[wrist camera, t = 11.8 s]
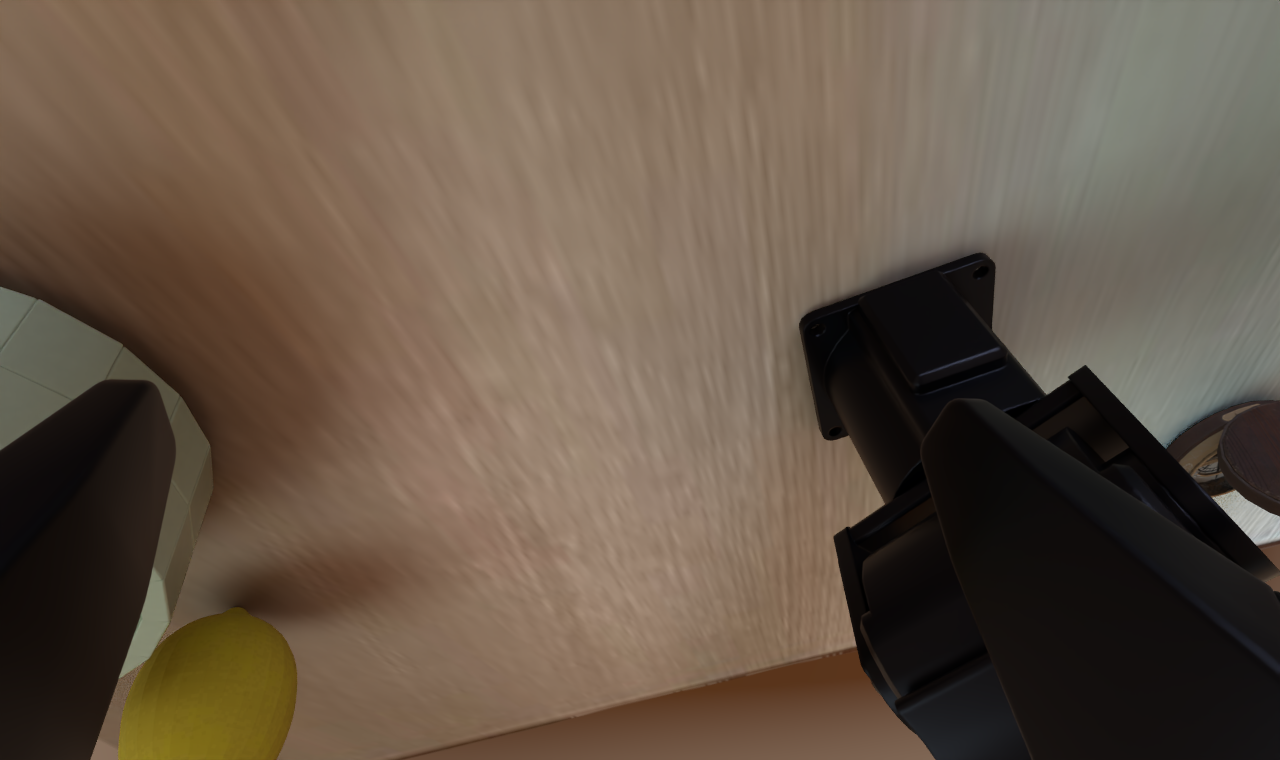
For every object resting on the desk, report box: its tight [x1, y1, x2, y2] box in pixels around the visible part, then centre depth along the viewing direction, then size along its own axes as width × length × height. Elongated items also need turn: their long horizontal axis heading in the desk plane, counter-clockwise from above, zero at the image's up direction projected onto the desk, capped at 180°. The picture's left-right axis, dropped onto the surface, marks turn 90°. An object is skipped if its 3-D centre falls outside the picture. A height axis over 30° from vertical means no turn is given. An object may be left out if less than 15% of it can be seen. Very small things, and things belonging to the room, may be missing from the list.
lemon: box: [118, 607, 297, 760], centre depth 27 cm, size 6×6×8 cm
